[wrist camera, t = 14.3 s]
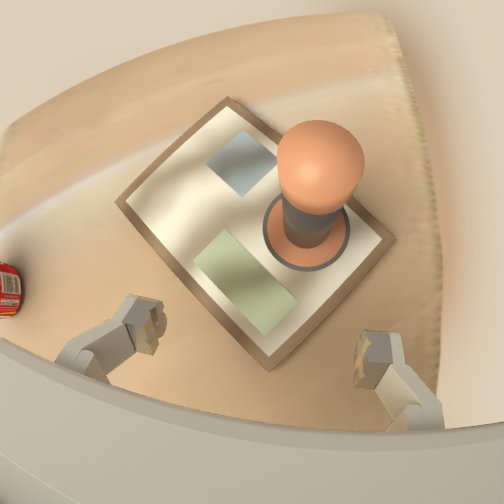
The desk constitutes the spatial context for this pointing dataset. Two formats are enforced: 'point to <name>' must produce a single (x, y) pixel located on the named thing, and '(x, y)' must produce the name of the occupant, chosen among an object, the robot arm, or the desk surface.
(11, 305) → the soda can
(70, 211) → the desk surface
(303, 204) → the orange topped grey cylinder
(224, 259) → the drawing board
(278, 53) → the desk surface
